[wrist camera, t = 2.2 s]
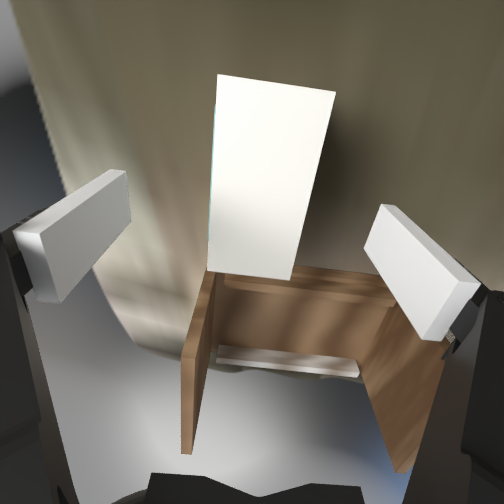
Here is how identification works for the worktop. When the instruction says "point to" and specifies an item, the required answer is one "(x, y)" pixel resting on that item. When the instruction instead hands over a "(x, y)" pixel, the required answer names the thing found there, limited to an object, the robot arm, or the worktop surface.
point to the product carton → (262, 173)
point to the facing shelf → (316, 344)
